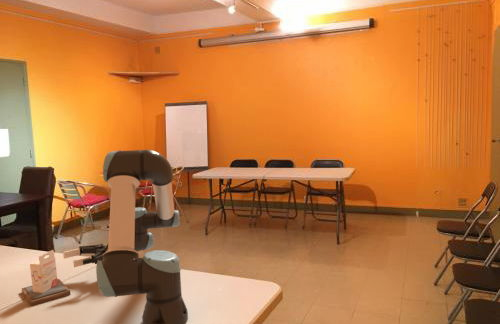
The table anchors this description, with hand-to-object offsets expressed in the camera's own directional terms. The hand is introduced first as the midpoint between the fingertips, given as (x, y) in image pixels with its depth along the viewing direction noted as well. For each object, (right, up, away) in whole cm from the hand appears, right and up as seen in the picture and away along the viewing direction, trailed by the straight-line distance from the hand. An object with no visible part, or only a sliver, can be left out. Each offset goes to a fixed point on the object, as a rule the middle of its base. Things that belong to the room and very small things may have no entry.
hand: (68, 259), depth 170 cm
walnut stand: (-7, -12, -4) cm, 15 cm away
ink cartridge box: (-7, -11, -5) cm, 14 cm away
